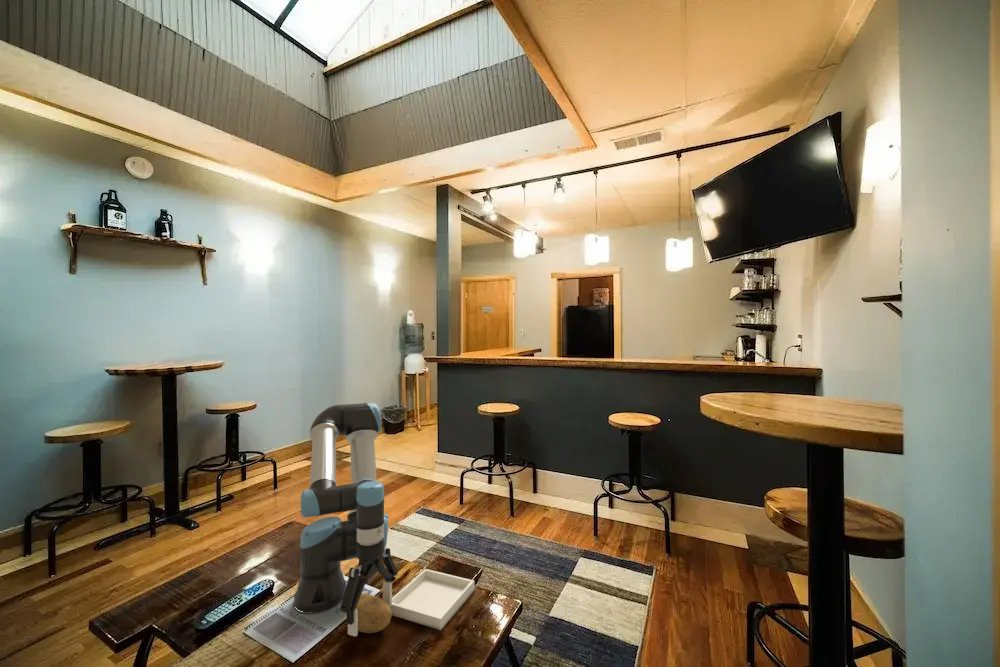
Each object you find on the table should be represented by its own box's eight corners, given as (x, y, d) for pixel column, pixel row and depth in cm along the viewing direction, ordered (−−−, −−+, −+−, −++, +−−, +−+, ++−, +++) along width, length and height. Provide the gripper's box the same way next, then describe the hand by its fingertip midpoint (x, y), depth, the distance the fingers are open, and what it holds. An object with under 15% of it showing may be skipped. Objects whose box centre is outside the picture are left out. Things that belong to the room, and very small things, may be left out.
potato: (373, 650, 102) (373, 618, 102) (340, 630, 109) (340, 600, 110) (401, 628, 110) (401, 598, 110) (369, 611, 118) (368, 583, 118)
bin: (386, 613, 116) (386, 602, 116) (425, 577, 134) (425, 568, 135) (440, 630, 108) (440, 619, 109) (474, 590, 127) (474, 580, 127)
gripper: (346, 563, 98) (347, 653, 96) (408, 524, 121) (409, 596, 119) (325, 558, 101) (324, 645, 99) (389, 521, 124) (390, 591, 122)
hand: (371, 619), depth 109 cm, fingers open, 13 cm apart
